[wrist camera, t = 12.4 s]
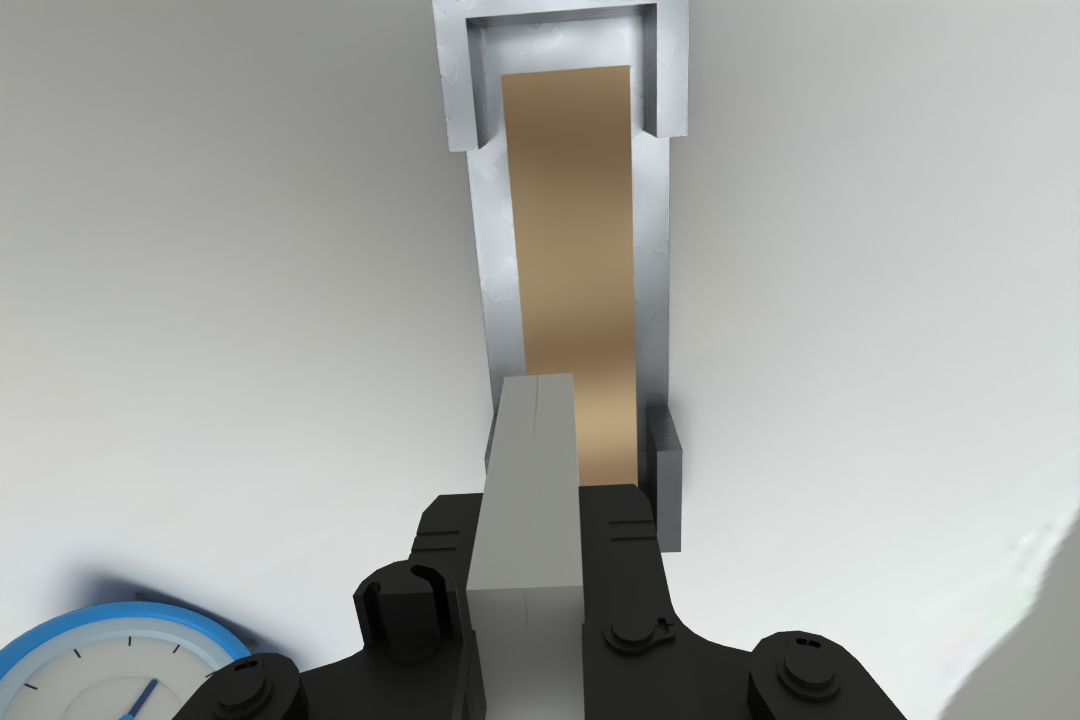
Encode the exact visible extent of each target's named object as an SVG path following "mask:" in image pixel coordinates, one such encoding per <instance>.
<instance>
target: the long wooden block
mask: <svg viewBox="0 0 1080 720" xmlns="http://www.w3.org/2000/svg"><path fill="white" fill-rule="evenodd" d="M501 85H502V97H503V108H504V120H505V131H506V143H507V154H508V166H509V177H510V189H511V200H512V212H513V223H514V235H515V246H516V258H517V270H518V281H519V293H520V304H521V316H522V327H523V339H524V350H525V362H526V373H527V376H528V375H545V374H563V373H573V388H574V404H575V420H576V437H577V453H578V469H579V486H594V485H615V484H635V485H636V486H637V487H638V471H637V417H636V363H635V309H634V255H633V201H632V147H631V93H630V65H618V66H606V67H593V68H581V69H568V70H555V71H543V72H530V73H517V74H505V75H501Z"/></svg>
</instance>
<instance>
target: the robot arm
mask: <svg viewBox="0 0 1080 720" xmlns="http://www.w3.org/2000/svg"><path fill="white" fill-rule="evenodd" d="M353 599H354V603H355V608H356V612H357V616H358V620H359V624H360V628H361V633H362V637H363V641H364V647H363V649H362V650H361V651H359V652H357V653H356V654H354V655H352V656H350V657H348V658H345V659H343V660H340V661H338V662H335V663H332V664H328V665H325V666H322V667H318V668H315V669H312V670H309V671H305V672H302V673H300V672H299V670H298V668H297V667H296V665H295V664H294V663H293V661H292V660H291V659H290V658H287V657H285V656H283V655H280V654H278V653H257V654H254V655H250V656H247V657H243V658H240V659H237V660H235V661H233V662H232V663H230V664H228V665H226V666H225V667H223V668H221V669H219V670H217V671H216V672H215V673H214V674H213V675H212V676H211V677H210V678H208V679H207V680H206V681H205V682H204V683H203V684H202V685H201V686H200V687H199V688H198V689H197V690H196V691H195V693H194V694H193V695H192V696H191V697H190V698H189V700H188V701H187V702H186V703H185V704H184V705H183V707H182V708H181V709H180V710H179V711H178V712H177V714H176V715H175V716H174V717H173V718H172V719H171V720H485V718H486V720H907V719H906V718H905V717H904V715H903V714H902V713H901V712H900V711H899V709H898V708H897V707H896V706H895V705H894V703H893V702H892V701H891V700H890V698H889V697H888V696H887V695H886V694H885V692H884V691H883V690H882V689H881V688H880V686H879V685H878V684H877V683H876V682H875V680H874V679H873V678H872V677H871V675H870V674H869V673H868V672H867V671H866V669H865V668H864V667H863V666H862V665H861V663H860V662H859V661H858V660H857V659H856V658H855V657H853V656H852V655H851V654H850V653H849V652H848V651H847V650H846V649H845V648H843V647H842V646H841V645H839V644H837V643H835V642H833V641H831V640H829V639H827V638H825V637H823V636H821V635H816V634H812V633H807V632H802V631H786V632H777V633H775V634H772V635H770V636H768V637H766V638H764V639H761V641H760V642H759V643H758V644H757V646H756V647H755V648H754V649H753V651H752V652H749V651H744V650H740V649H736V648H731V647H727V646H723V645H720V644H717V643H714V642H711V641H708V640H706V639H704V638H702V637H701V636H699V635H697V634H695V633H694V632H692V631H691V630H690V629H689V628H688V627H686V626H685V625H684V624H683V623H682V621H681V620H680V619H679V617H678V616H677V615H676V613H675V611H674V608H673V606H672V603H671V599H670V594H669V590H668V585H667V580H666V576H665V571H664V566H663V562H662V557H661V552H660V548H659V543H658V541H657V534H656V529H655V524H654V520H653V515H652V510H651V506H650V501H649V499H648V498H647V497H646V496H645V495H644V494H643V493H642V492H641V491H640V489H639V488H638V487H637V486H636V485H635V484H615V485H594V486H579V469H578V453H577V437H576V420H575V404H574V388H573V373H563V374H545V375H528V376H511V377H504V382H503V387H502V393H501V398H500V404H499V410H498V415H497V421H496V426H495V432H494V437H493V443H492V448H491V454H490V459H489V465H488V471H487V476H486V482H485V487H484V493H472V494H451V495H439V496H438V497H437V498H436V499H435V500H434V501H433V502H432V503H431V505H430V506H429V507H428V508H427V509H426V510H425V511H424V512H423V513H422V517H421V520H420V523H419V526H418V530H417V536H416V537H415V539H414V542H413V546H412V549H411V554H410V555H409V558H408V560H403V561H397V562H394V563H391V564H389V565H387V566H385V567H382V568H380V569H378V570H376V571H375V572H374V573H372V574H371V575H370V576H368V577H367V578H366V579H365V580H363V581H362V582H361V584H360V585H359V587H358V588H357V590H356V591H355V593H354V595H353Z"/></svg>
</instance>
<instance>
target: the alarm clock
mask: <svg viewBox="0 0 1080 720" xmlns="http://www.w3.org/2000/svg"><path fill="white" fill-rule="evenodd" d="M256 646H257V643H256V642H255V641H254V642H251V643H249V644H246V645H244V644H243V643H242V642H241V641H240V640H239V639H238V638H237V637H236V636H234V635H233V634H232V633H231V632H230V631H228V630H227V629H226V628H224V627H223V626H221V625H220V624H218V623H217V622H215V621H213V620H211V619H210V618H208V617H205V616H203V615H201V614H199V613H196V612H194V611H191V610H188V609H185V608H181V607H178V606H173V605H169V604H163V603H155V602H142V599H141V593H136V594H135V597H134V601H128V602H114V603H107V604H100V605H95V606H91V607H86V608H82V609H79V610H76V611H72V612H69V613H66V614H63V615H61V616H58V617H56V618H53V619H51V620H49V621H47V622H44V623H42V624H40V625H38V626H36V627H34V628H33V629H31V630H29V631H27V632H25V633H24V634H22V635H21V636H19V637H18V638H16V639H15V640H13V641H12V642H10V643H9V644H8V645H6V646H5V647H4V648H3V649H1V650H0V720H171V719H172V718H173V717H174V716H175V715H176V714H177V712H178V711H179V710H180V709H181V708H182V707H183V705H184V704H185V703H186V702H187V701H188V700H189V698H190V697H191V696H192V695H193V694H194V693H195V691H196V690H197V689H198V688H199V687H200V686H201V685H202V684H203V683H204V682H205V681H206V680H207V679H208V678H210V677H211V676H212V675H213V674H214V673H215V672H216V671H217V670H219V669H221V668H223V667H225V666H226V665H228V664H230V663H232V662H233V661H235V660H237V659H240V658H243V657H247V656H250V655H252V654H251V653H250V651H251V650H253V649H254V648H255V647H256Z"/></svg>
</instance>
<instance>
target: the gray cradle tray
mask: <svg viewBox="0 0 1080 720" xmlns="http://www.w3.org/2000/svg"><path fill="white" fill-rule="evenodd" d="M432 6H433V15H434V24H435V32H436V41H437V50H438V59H439V67H440V76H441V85H442V93H443V102H444V111H445V120H446V128H447V137H448V146H449V152H460V151H466V153H467V163H468V172H469V182H470V191H471V201H472V210H473V220H474V229H475V239H476V248H477V258H478V267H479V277H480V286H481V296H482V305H483V315H484V324H485V334H486V343H487V353H488V362H489V372H490V381H491V391H492V400H493V410H494V416H493V421H492V425H491V430H490V435H489V440H488V444H487V449H486V454H485V458H484V460H485V468H486V476H487V471H488V465H489V459H490V454H491V448H492V443H493V437H494V432H495V426H496V421H497V415H498V410H499V404H500V398H501V393H502V387H503V382H504V377H511V376H527V373H526V362H525V350H524V339H523V327H522V316H521V304H520V293H519V281H518V270H517V258H516V246H515V235H514V223H513V212H512V200H511V189H510V177H509V166H508V154H507V143H506V131H505V120H504V108H503V97H502V85H501V75H505V74H517V73H530V72H543V71H555V70H568V69H581V68H593V67H606V66H618V65H630V93H631V147H632V201H633V255H634V309H635V363H636V417H637V471H638V488H639V489H640V491H641V492H642V493H643V494H644V495H645V496H646V497H647V498H648V499H649V501H650V506H651V510H652V515H653V520H654V524H655V529H656V534H657V541H658V543H659V548H660V552H661V553H662V552H681V503H682V448H681V445H680V442H679V439H678V436H677V433H676V430H675V426H674V423H673V420H672V417H671V414H670V411H669V408H668V300H669V137H680V136H687V124H688V61H689V0H432Z"/></svg>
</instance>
